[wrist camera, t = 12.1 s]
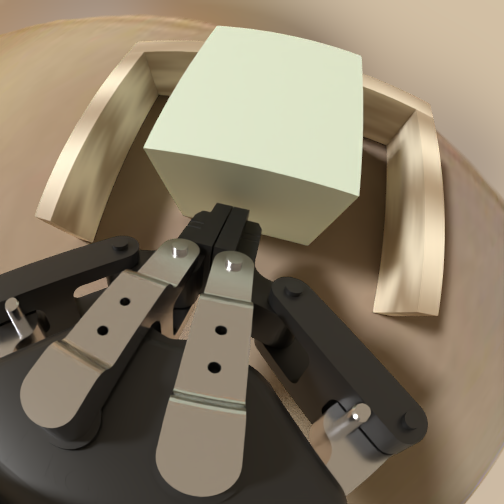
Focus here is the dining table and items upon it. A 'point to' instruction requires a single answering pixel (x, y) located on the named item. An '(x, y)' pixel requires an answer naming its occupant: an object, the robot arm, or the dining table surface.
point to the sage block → (264, 131)
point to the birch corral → (374, 127)
